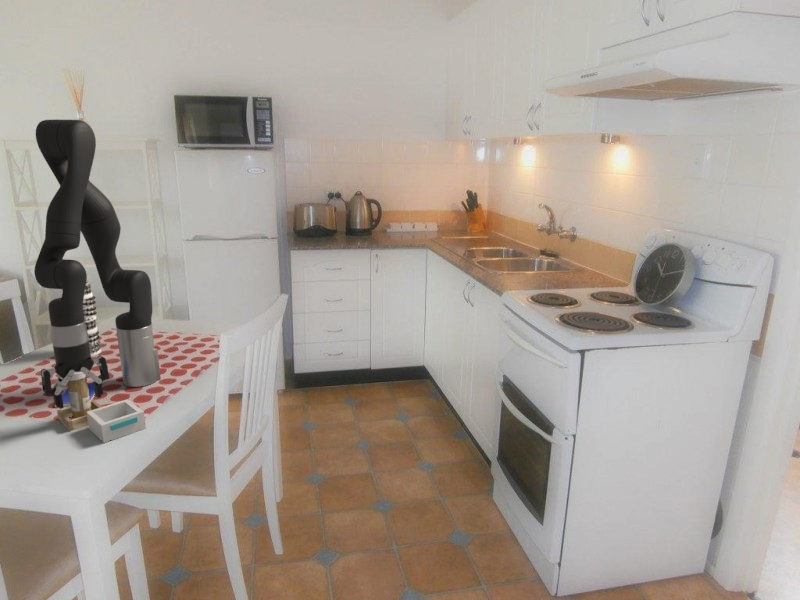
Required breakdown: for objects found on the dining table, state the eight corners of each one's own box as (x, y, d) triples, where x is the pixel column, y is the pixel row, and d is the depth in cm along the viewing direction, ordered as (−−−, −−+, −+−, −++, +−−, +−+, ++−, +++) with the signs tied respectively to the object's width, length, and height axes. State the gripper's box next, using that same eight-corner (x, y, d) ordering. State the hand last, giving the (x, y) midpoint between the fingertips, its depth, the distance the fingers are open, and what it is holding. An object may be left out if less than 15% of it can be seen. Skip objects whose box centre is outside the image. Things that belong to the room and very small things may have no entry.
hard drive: (88, 400, 147) (100, 382, 158) (54, 403, 145) (68, 384, 156) (89, 405, 147) (101, 387, 159) (55, 409, 145) (69, 389, 157)
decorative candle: (90, 359, 178) (79, 283, 171) (64, 357, 179) (52, 282, 172) (108, 349, 186) (99, 277, 180) (84, 347, 188) (73, 276, 181)
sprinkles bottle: (95, 419, 139) (88, 370, 135) (75, 425, 136) (67, 375, 132) (90, 413, 142) (82, 364, 138) (70, 419, 139) (62, 369, 135)
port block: (129, 415, 141) (127, 399, 140) (146, 428, 135) (144, 412, 134) (88, 428, 135) (86, 411, 133) (104, 443, 128) (102, 426, 127)
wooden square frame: (95, 408, 145) (93, 399, 144) (107, 419, 139) (106, 410, 138) (58, 419, 139) (56, 410, 138) (70, 431, 133) (68, 422, 132)
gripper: (96, 330, 141) (104, 389, 145) (32, 343, 131) (42, 406, 135) (107, 337, 136) (115, 398, 140) (41, 351, 126) (52, 416, 130)
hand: (79, 402), depth 137 cm, fingers open, 8 cm apart
